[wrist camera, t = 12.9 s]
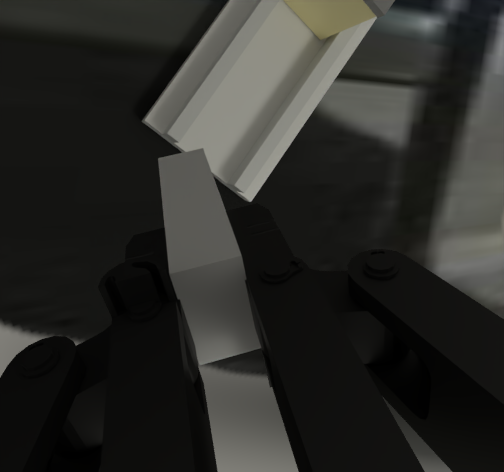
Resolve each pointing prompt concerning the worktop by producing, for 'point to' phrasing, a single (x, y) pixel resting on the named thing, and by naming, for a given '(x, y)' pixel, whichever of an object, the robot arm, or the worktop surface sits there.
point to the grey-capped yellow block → (337, 13)
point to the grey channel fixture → (250, 89)
